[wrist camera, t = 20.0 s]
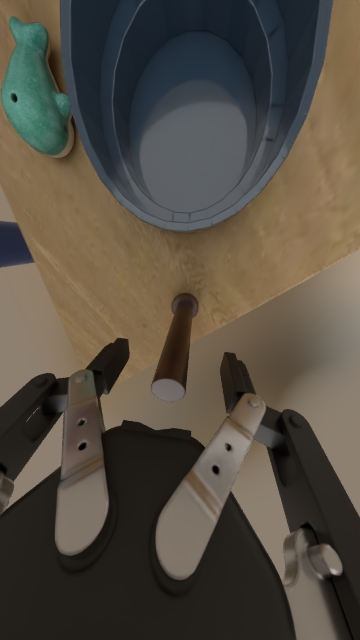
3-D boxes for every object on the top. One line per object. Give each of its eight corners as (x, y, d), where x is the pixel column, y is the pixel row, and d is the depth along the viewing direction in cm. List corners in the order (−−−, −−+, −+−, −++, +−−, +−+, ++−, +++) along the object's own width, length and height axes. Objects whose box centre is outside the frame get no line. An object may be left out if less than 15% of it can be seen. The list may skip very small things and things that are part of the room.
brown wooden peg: (172, 315, 23) (140, 404, 11) (173, 291, 21) (138, 365, 9) (196, 317, 23) (193, 412, 10) (199, 294, 21) (200, 374, 9)
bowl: (123, 228, 18) (89, 223, 12) (105, 6, 11) (11, -227, 6) (246, 238, 17) (269, 238, 12) (304, 5, 11) (427, -267, 5)
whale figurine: (30, 154, 16) (-14, 131, 13) (9, 29, 12) (-62, -48, 9) (85, 168, 16) (55, 150, 13) (79, 49, 12) (35, -20, 9)
